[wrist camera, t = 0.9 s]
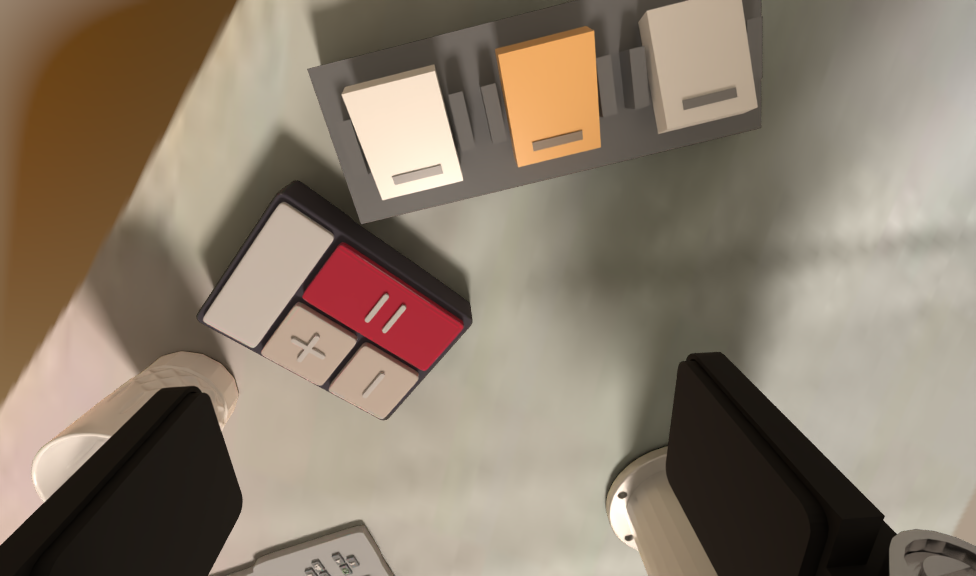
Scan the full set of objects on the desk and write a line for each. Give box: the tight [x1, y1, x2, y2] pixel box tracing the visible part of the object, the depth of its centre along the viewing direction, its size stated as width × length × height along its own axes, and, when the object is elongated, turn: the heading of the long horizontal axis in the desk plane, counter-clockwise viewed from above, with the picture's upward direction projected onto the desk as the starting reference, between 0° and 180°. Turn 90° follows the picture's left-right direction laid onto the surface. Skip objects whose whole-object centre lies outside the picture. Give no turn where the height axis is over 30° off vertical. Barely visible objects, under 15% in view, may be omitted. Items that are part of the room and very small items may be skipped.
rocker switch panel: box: [307, 0, 763, 224], centre depth 28 cm, size 25×9×5 cm, turn 103°
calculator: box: [197, 181, 472, 420], centre depth 33 cm, size 11×4×15 cm
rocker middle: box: [495, 26, 601, 167], centre depth 25 cm, size 5×6×2 cm
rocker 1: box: [342, 65, 463, 200], centre depth 26 cm, size 5×6×2 cm
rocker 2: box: [638, 0, 758, 134], centre depth 25 cm, size 5×6×2 cm
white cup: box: [31, 351, 239, 502], centre depth 32 cm, size 8×8×10 cm
